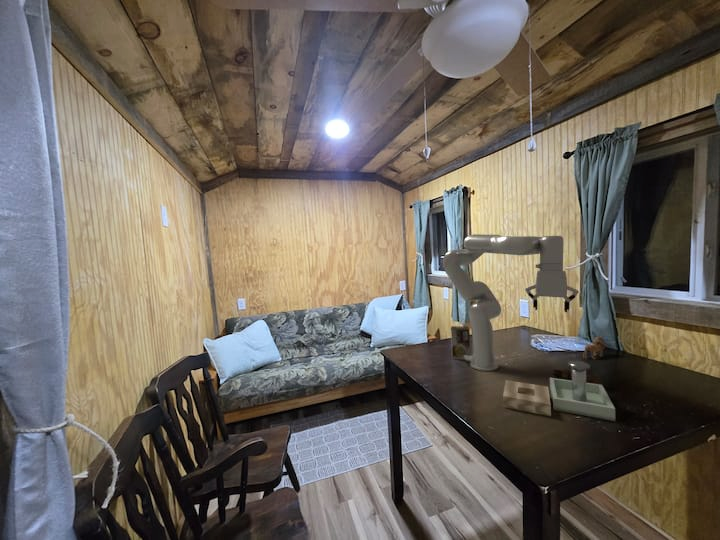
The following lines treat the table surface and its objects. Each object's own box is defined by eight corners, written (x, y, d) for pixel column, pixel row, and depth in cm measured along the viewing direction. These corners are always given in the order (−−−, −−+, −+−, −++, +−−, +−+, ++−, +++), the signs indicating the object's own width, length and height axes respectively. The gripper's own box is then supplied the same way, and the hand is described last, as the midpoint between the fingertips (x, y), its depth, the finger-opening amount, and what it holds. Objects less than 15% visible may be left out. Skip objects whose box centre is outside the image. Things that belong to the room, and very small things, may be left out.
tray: (553, 409, 96) (553, 398, 96) (550, 387, 111) (549, 377, 111) (615, 421, 88) (615, 408, 87) (602, 395, 103) (602, 384, 103)
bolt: (554, 380, 120) (600, 390, 109) (551, 378, 117) (598, 387, 106) (555, 367, 122) (600, 375, 111) (552, 364, 119) (598, 372, 108)
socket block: (503, 407, 99) (503, 396, 99) (506, 390, 111) (505, 380, 111) (551, 416, 92) (550, 404, 92) (548, 397, 104) (548, 386, 104)
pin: (570, 401, 98) (569, 365, 98) (568, 394, 103) (567, 359, 103) (592, 405, 95) (591, 368, 94) (588, 397, 100) (587, 362, 100)
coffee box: (470, 355, 150) (468, 326, 150) (470, 360, 144) (469, 329, 144) (452, 354, 153) (451, 325, 153) (452, 359, 147) (450, 328, 147)
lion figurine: (594, 352, 144) (594, 335, 144) (607, 355, 140) (607, 337, 139) (580, 358, 137) (579, 340, 137) (593, 362, 133) (592, 343, 132)
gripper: (525, 268, 111) (524, 310, 112) (580, 268, 101) (579, 314, 103) (525, 266, 117) (525, 306, 118) (577, 266, 108) (577, 310, 109)
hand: (550, 310), depth 110 cm, fingers open, 9 cm apart
